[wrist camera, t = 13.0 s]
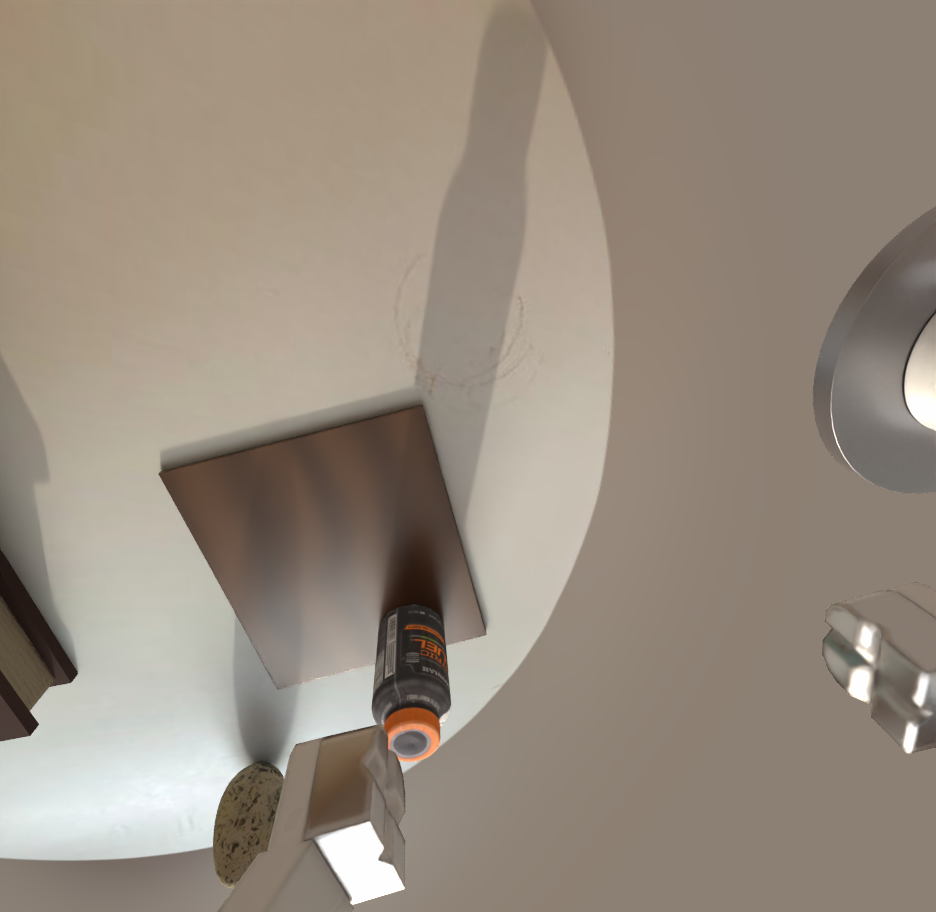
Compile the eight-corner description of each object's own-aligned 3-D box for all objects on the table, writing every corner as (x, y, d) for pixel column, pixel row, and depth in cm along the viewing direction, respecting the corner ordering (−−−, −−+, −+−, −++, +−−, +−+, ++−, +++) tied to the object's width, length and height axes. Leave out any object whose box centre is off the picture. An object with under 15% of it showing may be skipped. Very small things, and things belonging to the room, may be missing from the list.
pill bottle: (457, 623, 45) (472, 737, 34) (415, 662, 46) (417, 784, 36) (407, 590, 43) (406, 701, 32) (364, 633, 44) (350, 753, 34)
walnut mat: (422, 404, 36) (422, 406, 36) (485, 631, 46) (486, 635, 46) (160, 471, 36) (158, 473, 36) (278, 686, 46) (277, 689, 45)
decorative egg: (260, 739, 48) (226, 854, 39) (306, 766, 50) (283, 881, 41) (219, 769, 49) (176, 889, 40) (265, 795, 51) (234, 914, 42)
